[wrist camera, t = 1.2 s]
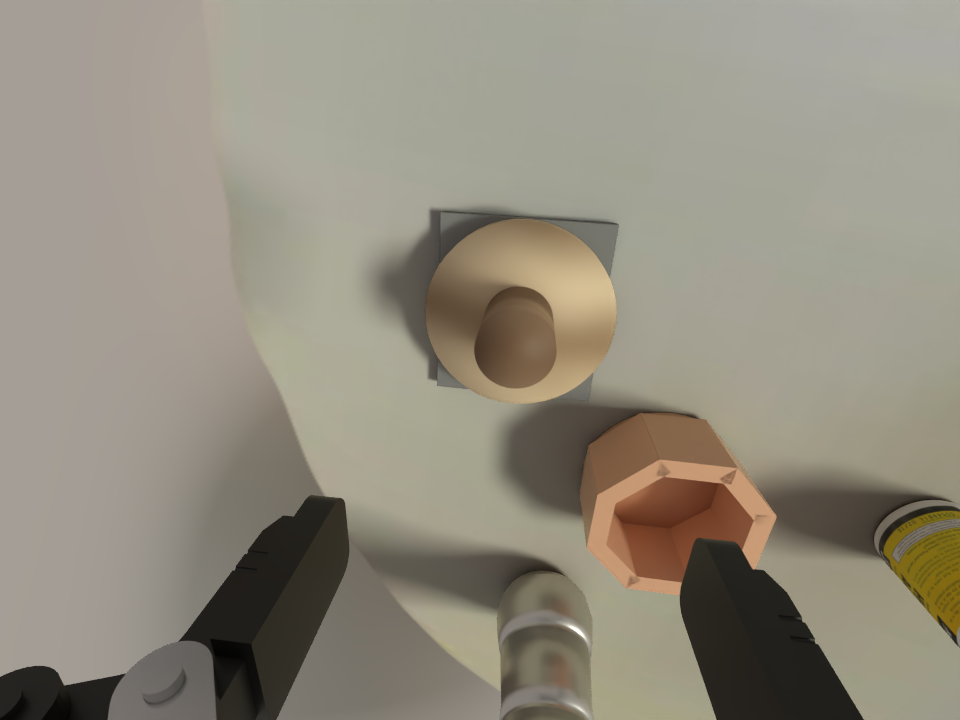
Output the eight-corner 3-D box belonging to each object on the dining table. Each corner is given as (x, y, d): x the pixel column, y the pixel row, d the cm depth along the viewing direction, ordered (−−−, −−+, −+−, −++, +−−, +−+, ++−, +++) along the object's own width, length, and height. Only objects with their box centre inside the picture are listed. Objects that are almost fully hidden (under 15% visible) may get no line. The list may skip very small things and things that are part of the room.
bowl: (594, 404, 27) (605, 453, 23) (750, 421, 26) (794, 474, 22) (573, 519, 31) (579, 581, 26) (709, 536, 30) (740, 603, 26)
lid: (431, 211, 23) (401, 225, 18) (629, 225, 22) (656, 244, 17) (428, 384, 27) (404, 435, 22) (596, 402, 26) (611, 459, 21)
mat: (442, 211, 24) (440, 212, 23) (616, 223, 23) (618, 225, 22) (439, 381, 28) (437, 385, 27) (587, 396, 27) (588, 401, 26)
